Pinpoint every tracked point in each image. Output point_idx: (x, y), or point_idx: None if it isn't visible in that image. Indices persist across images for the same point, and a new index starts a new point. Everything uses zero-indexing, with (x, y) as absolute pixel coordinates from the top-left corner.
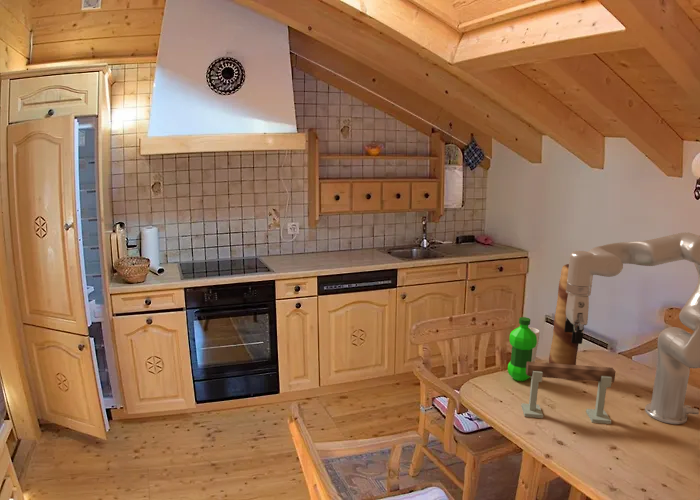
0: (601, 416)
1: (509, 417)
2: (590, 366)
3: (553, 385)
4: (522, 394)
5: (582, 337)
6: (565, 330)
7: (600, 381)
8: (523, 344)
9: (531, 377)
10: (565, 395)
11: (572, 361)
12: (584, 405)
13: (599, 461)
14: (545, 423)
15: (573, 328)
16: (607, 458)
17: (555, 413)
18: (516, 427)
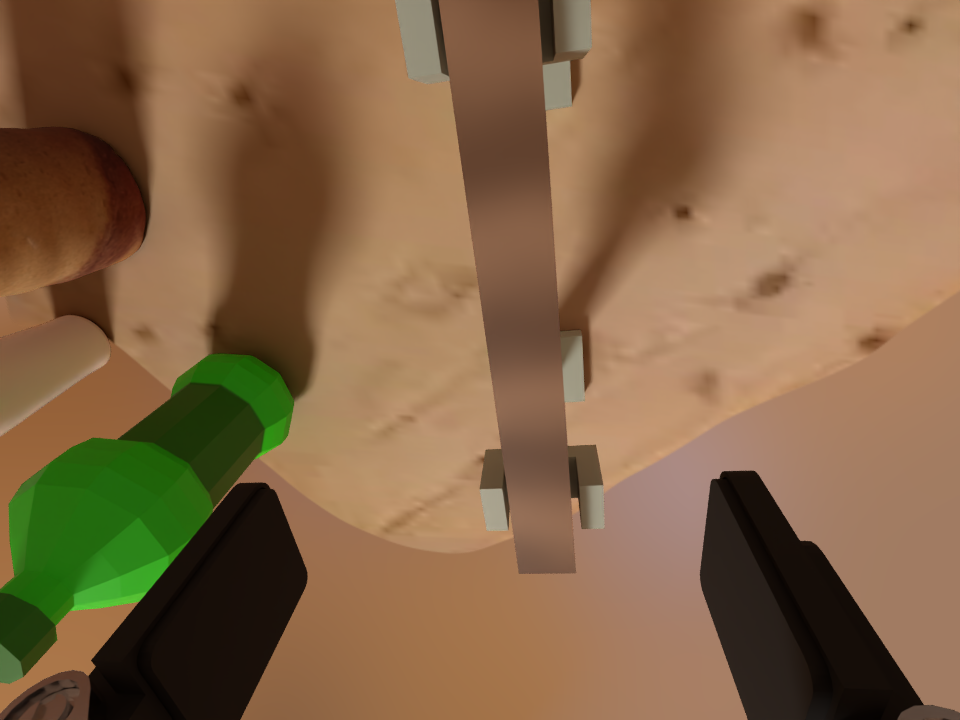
0: None
1: (601, 442)
2: (469, 154)
3: (251, 251)
4: (399, 385)
5: (813, 565)
6: (297, 596)
7: (553, 59)
8: (198, 525)
9: None
10: (330, 205)
11: (31, 161)
12: (399, 120)
13: (934, 128)
14: (622, 323)
15: (237, 550)
16: (910, 81)
17: None
18: (671, 426)
